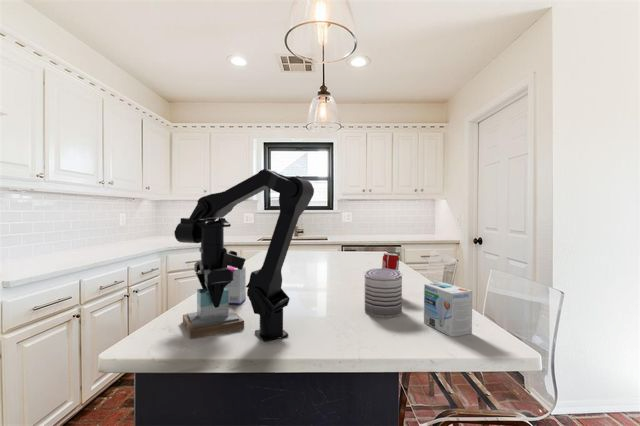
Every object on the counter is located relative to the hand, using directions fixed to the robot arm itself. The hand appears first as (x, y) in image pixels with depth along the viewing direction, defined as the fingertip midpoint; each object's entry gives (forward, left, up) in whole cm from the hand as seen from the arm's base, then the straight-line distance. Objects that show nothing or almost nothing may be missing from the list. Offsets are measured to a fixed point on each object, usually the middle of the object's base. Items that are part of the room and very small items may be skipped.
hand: (212, 302), depth 85 cm
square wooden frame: (0, 0, -6) cm, 6 cm away
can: (-14, -47, -6) cm, 49 cm away
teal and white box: (0, 0, -4) cm, 4 cm away
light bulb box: (-33, -52, -6) cm, 62 cm away
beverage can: (-2, -61, -6) cm, 61 cm away
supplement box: (+18, -11, -6) cm, 22 cm away
